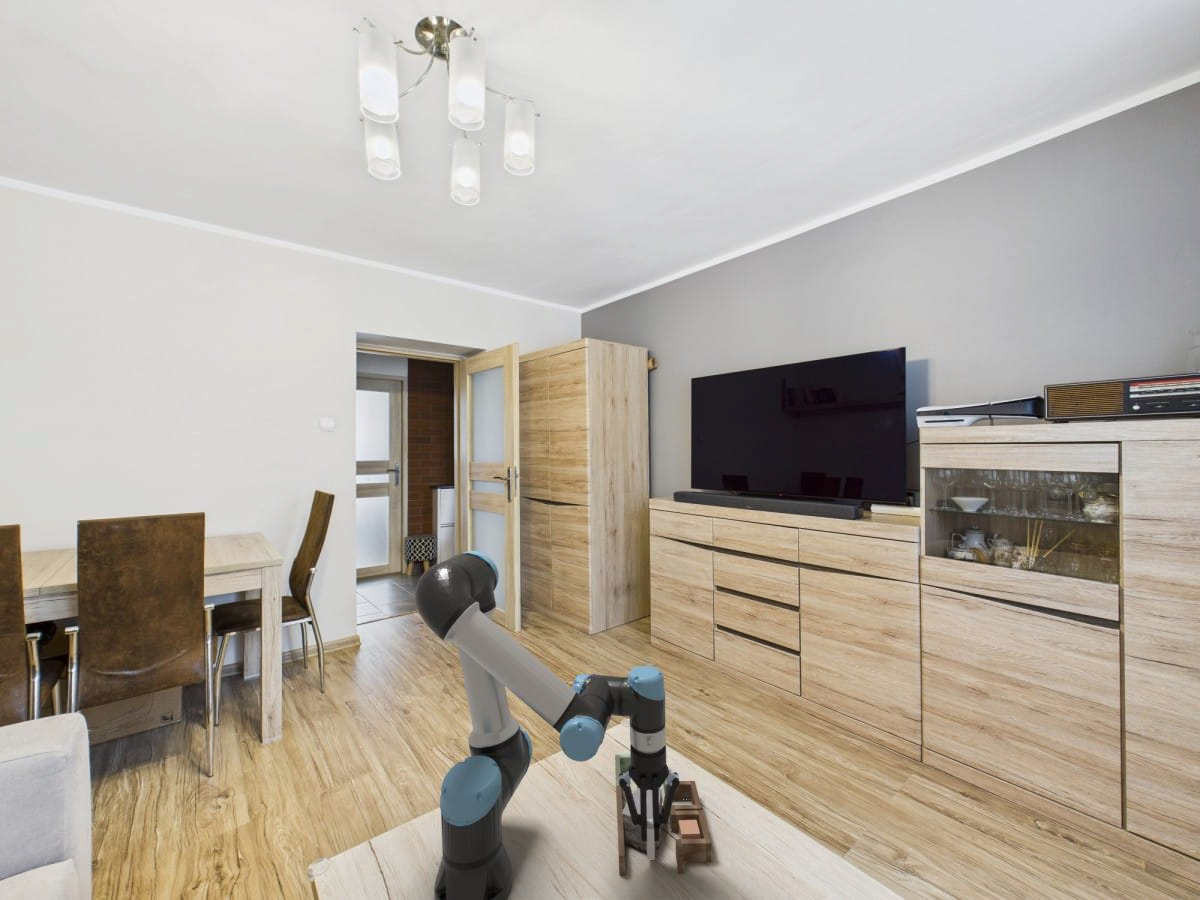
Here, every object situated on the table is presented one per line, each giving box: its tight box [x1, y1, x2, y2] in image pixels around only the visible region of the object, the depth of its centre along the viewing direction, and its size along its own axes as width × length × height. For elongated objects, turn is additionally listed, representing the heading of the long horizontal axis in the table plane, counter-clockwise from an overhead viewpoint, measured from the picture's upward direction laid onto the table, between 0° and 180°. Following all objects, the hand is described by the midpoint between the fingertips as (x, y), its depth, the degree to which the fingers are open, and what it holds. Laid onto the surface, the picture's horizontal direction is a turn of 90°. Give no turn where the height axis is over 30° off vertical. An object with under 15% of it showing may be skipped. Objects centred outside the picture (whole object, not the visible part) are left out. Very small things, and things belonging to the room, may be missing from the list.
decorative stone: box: [622, 787, 664, 853], centre depth 115 cm, size 15×7×10 cm
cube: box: [678, 820, 700, 839], centre depth 111 cm, size 4×4×4 cm
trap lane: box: [614, 753, 713, 876], centre depth 120 cm, size 20×33×4 cm, turn 0°
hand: (650, 854), depth 107 cm, fingers closed
